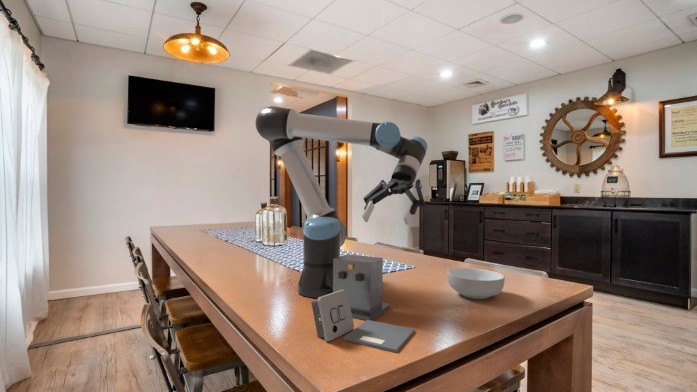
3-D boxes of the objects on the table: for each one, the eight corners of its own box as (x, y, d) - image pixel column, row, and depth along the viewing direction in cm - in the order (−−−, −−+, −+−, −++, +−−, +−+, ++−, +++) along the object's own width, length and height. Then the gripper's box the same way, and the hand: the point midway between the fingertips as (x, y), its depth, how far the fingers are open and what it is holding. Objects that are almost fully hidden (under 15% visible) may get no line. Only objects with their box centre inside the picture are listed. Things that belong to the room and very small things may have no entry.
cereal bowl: (477, 307, 97) (477, 282, 97) (435, 292, 112) (436, 270, 112) (516, 299, 105) (516, 275, 105) (473, 286, 120) (473, 265, 120)
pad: (343, 340, 75) (343, 337, 75) (367, 322, 85) (367, 319, 85) (396, 352, 69) (396, 349, 69) (414, 331, 80) (414, 328, 80)
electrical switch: (327, 343, 73) (325, 299, 74) (310, 339, 76) (308, 296, 77) (355, 330, 81) (352, 289, 81) (338, 327, 84) (335, 288, 84)
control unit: (324, 312, 92) (324, 259, 92) (345, 299, 103) (346, 252, 103) (372, 321, 86) (372, 264, 86) (390, 307, 96) (390, 257, 96)
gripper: (445, 180, 111) (428, 231, 99) (376, 181, 125) (353, 226, 112) (440, 162, 107) (421, 213, 94) (369, 165, 120) (344, 210, 108)
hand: (384, 220), depth 103 cm, fingers open, 13 cm apart
